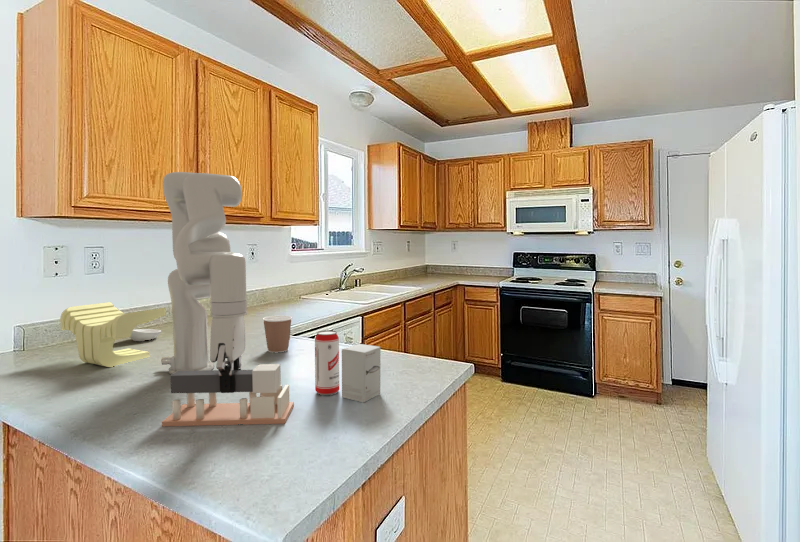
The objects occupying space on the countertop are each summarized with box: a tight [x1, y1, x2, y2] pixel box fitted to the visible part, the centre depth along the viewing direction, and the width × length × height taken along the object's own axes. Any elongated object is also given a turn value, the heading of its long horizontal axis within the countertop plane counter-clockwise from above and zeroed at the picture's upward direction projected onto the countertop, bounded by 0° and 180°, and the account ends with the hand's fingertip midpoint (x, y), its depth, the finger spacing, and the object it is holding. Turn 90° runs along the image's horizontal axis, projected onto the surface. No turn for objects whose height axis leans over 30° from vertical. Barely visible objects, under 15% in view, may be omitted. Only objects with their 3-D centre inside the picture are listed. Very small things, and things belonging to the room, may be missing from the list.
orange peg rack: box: [161, 384, 295, 427], centre depth 97 cm, size 26×10×6 cm, turn 93°
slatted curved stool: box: [59, 301, 166, 368], centre depth 141 cm, size 30×16×18 cm, turn 64°
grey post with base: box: [169, 363, 282, 394], centre depth 97 cm, size 23×5×5 cm, turn 93°
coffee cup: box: [262, 315, 293, 354], centre depth 155 cm, size 10×10×12 cm
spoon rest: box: [128, 328, 162, 342], centre depth 168 cm, size 24×12×7 cm, turn 150°
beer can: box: [314, 329, 340, 396], centre depth 112 cm, size 6×6×16 cm
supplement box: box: [341, 343, 382, 404], centre depth 109 cm, size 7×7×13 cm
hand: (231, 388), depth 97 cm, fingers closed on grey post with base, 3 cm apart
